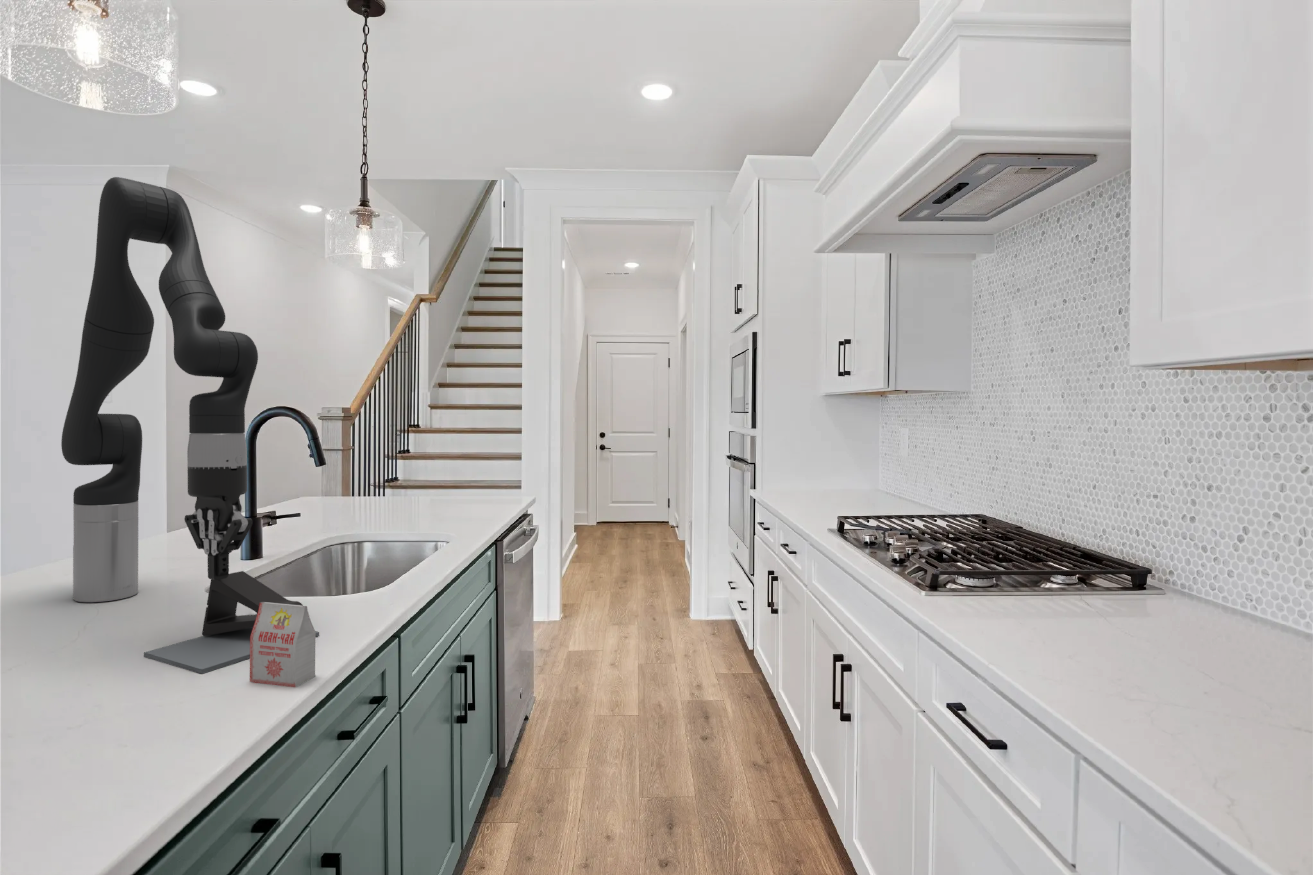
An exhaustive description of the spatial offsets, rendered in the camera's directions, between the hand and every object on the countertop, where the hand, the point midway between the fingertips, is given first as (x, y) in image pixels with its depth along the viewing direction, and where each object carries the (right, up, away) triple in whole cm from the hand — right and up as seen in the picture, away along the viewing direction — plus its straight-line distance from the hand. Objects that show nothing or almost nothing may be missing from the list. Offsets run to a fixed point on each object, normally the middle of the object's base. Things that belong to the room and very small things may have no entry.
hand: (218, 578), depth 103 cm
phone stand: (-2, -4, +3) cm, 6 cm away
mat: (+3, -10, -1) cm, 10 cm away
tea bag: (+17, -11, -13) cm, 24 cm away
